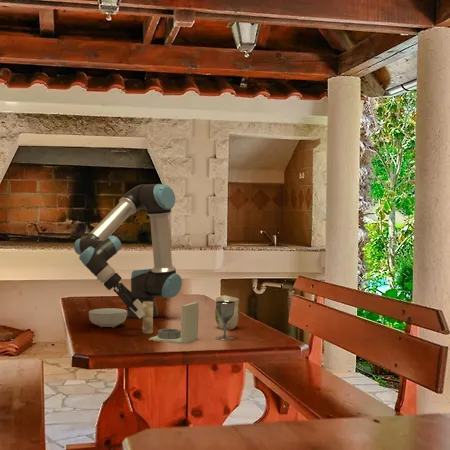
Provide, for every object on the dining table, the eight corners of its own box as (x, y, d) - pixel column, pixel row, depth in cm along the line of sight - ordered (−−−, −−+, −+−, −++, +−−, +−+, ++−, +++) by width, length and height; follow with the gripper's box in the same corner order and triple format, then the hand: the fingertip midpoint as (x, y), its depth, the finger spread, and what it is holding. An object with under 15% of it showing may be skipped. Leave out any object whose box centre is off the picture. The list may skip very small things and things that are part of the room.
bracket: (148, 340, 277) (149, 302, 277) (162, 335, 288) (163, 299, 288) (184, 344, 271) (185, 305, 271) (197, 339, 282) (198, 302, 282)
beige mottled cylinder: (140, 332, 293) (141, 302, 293) (145, 331, 297) (146, 301, 297) (149, 333, 292) (150, 303, 291) (154, 332, 296) (155, 301, 295)
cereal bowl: (112, 322, 320) (112, 306, 320) (134, 326, 308) (134, 311, 308) (81, 325, 308) (81, 310, 308) (102, 331, 296) (102, 314, 296)
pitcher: (218, 332, 299) (219, 300, 298) (211, 325, 316) (212, 295, 316) (243, 332, 300) (244, 300, 300) (235, 325, 318) (236, 295, 318)
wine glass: (214, 336, 289) (215, 300, 288) (233, 336, 289) (234, 300, 289) (215, 340, 281) (216, 303, 280) (235, 340, 281) (236, 303, 281)
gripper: (107, 281, 305) (140, 315, 306) (98, 287, 280) (134, 324, 281) (119, 269, 305) (152, 304, 306) (111, 274, 280) (147, 312, 281)
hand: (144, 314), depth 293 cm, fingers open, 13 cm apart
